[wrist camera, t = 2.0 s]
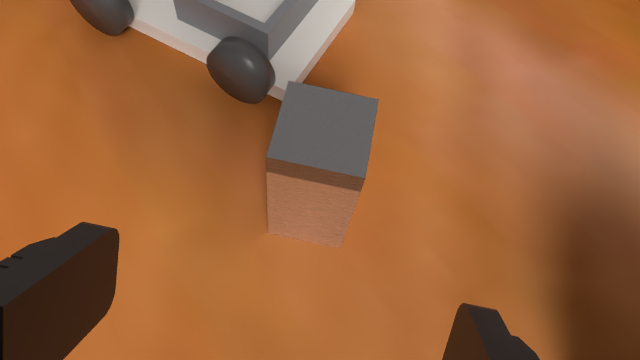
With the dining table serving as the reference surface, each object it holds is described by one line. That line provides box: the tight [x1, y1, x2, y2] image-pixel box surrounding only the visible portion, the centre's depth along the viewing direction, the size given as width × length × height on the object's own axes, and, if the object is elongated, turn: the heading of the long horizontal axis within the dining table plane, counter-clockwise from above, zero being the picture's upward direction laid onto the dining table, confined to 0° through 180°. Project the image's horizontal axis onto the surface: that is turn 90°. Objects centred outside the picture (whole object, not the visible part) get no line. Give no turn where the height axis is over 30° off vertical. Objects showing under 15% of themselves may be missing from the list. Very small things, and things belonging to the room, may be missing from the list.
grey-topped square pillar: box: [266, 81, 379, 249], centre depth 29 cm, size 5×5×10 cm
